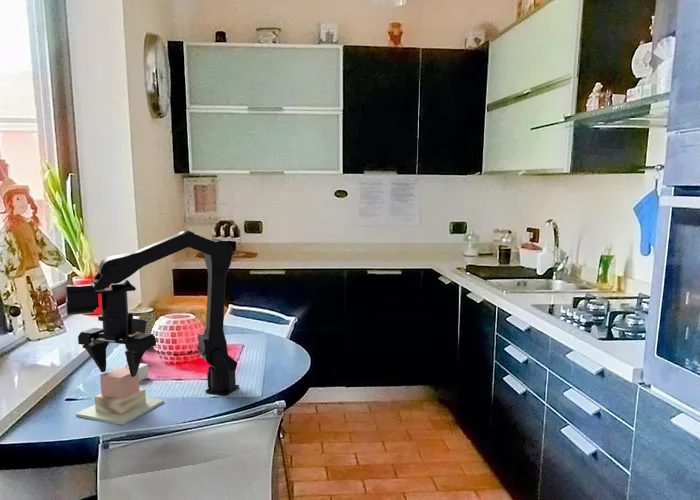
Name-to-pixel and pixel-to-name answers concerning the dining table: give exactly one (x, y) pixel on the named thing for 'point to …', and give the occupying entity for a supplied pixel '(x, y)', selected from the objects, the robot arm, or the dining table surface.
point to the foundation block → (120, 402)
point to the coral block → (119, 383)
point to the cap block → (142, 371)
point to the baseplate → (120, 419)
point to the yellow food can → (145, 316)
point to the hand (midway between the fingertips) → (118, 374)
